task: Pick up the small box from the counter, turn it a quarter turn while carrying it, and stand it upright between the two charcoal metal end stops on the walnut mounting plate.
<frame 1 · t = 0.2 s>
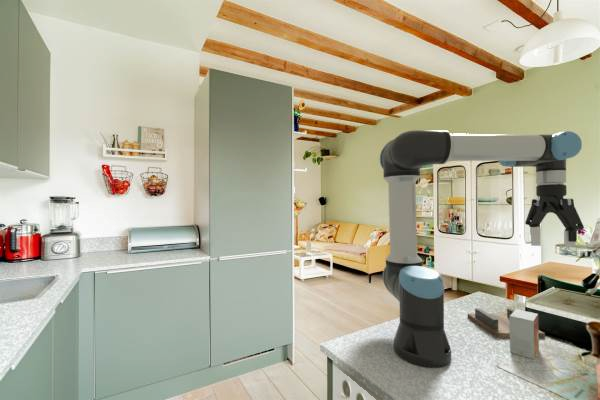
hand: (551, 248, 94), 27 cm above the counter, tool pointing down, fingers open, 13 cm apart
small box: (524, 351, 82), on the counter
mounting plate: (503, 326, 98), on the counter
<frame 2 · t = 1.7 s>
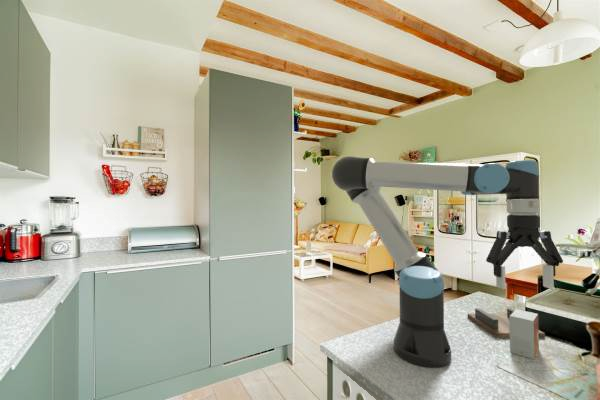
hand: (524, 287, 82), 18 cm above the counter, tool pointing down, fingers open, 13 cm apart
nothing on the counter moved.
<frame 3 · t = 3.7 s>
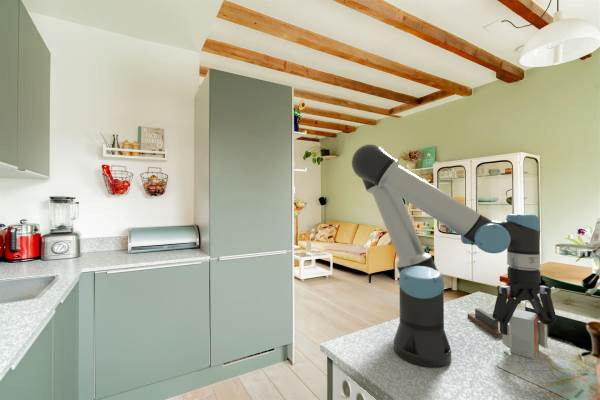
hand: (524, 345, 82), 2 cm above the counter, tool pointing down, fingers closed on small box, 9 cm apart
small box: (524, 351, 82), on the counter, touching gripper
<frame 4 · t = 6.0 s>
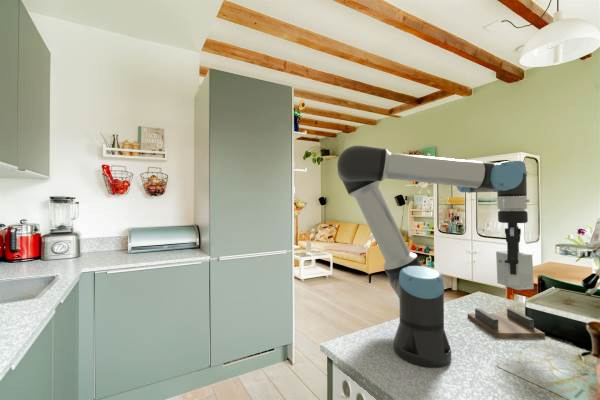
hand: (514, 281, 90), 18 cm above the counter, tool pointing down, fingers closed on small box, 9 cm apart
small box: (514, 286, 90), point 16 cm above the counter, touching gripper
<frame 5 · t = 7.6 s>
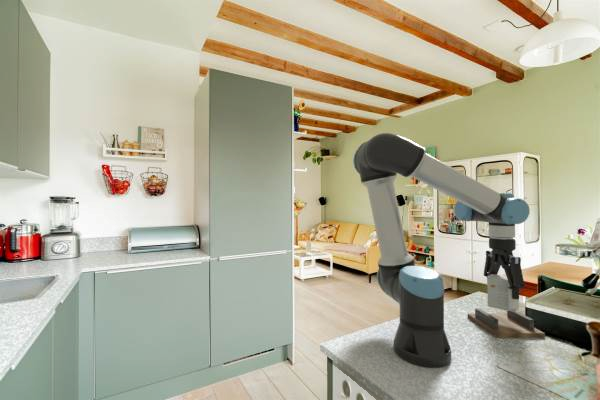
hand: (502, 302, 98), 8 cm above the counter, tool pointing down, fingers closed on small box, 9 cm apart
small box: (503, 308, 98), point 6 cm above the counter, touching gripper
when the fingers open (4 cm above the counter, at t = 8.8 s): small box drops 1 cm, resting on mounting plate.
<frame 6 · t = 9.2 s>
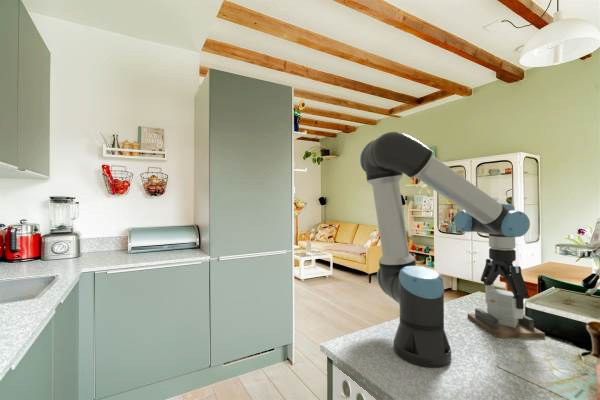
hand: (502, 310, 98), 6 cm above the counter, tool pointing down, fingers open, 13 cm apart
small box: (502, 323, 98), point 1 cm above the counter, touching mounting plate
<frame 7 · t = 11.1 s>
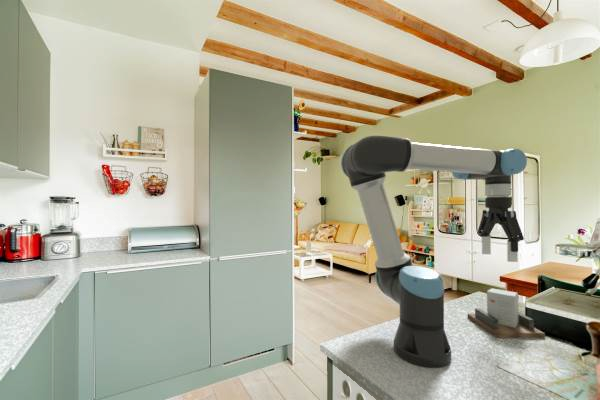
hand: (498, 257, 99), 24 cm above the counter, tool pointing down, fingers open, 13 cm apart
nothing on the counter moved.
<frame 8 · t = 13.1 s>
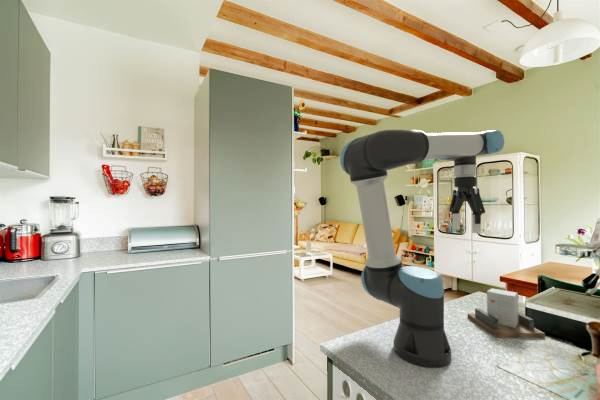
hand: (465, 231, 111), 32 cm above the counter, tool pointing down, fingers open, 13 cm apart
nothing on the counter moved.
at the end: small box 0.1 cm off-centre on the mounting plate, point 1.3 cm above the mounting plate's base; small box tilted 0°; the gripper is holding nothing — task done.
